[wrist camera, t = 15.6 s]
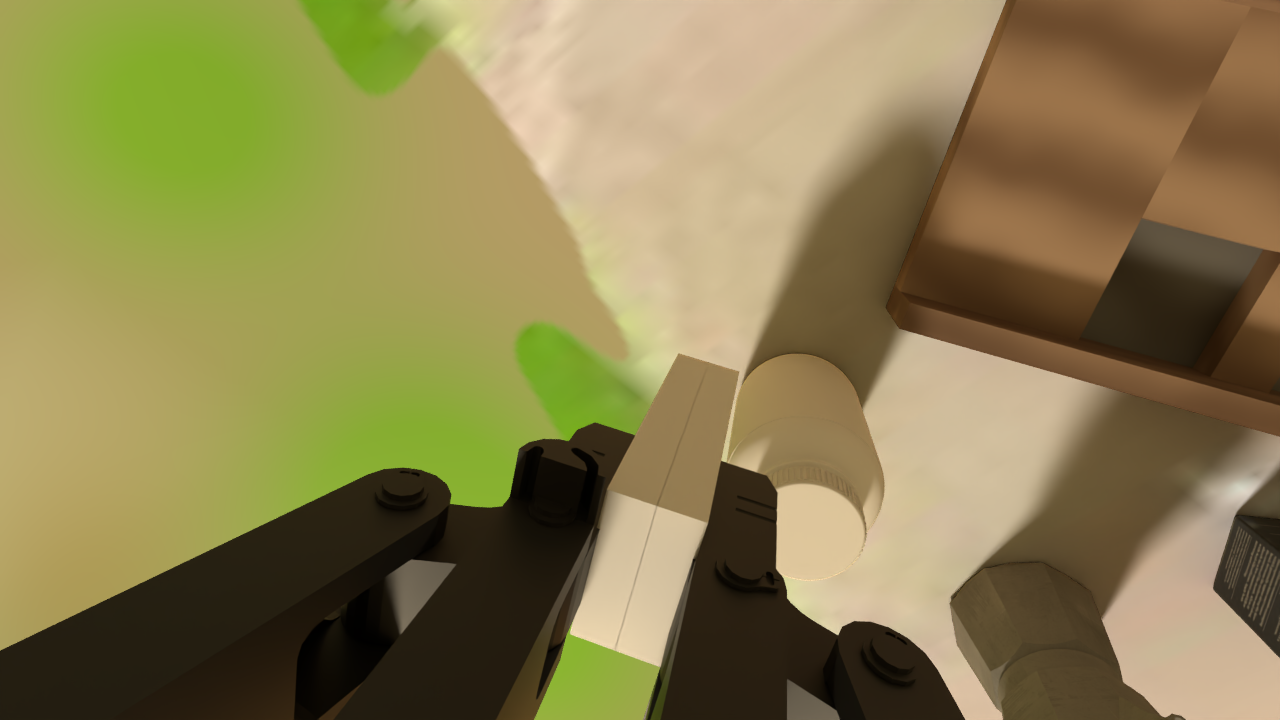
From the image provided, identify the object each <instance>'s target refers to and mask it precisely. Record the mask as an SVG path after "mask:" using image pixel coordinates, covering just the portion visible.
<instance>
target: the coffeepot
mask: <svg viewBox="0 0 1280 720" xmlns="http://www.w3.org/2000/svg"><path fill="white" fill-rule="evenodd" d="M950 608H951V613H952V621H953V625H954V630H955V636H956V642H957V646H958V647H959V649H960V650H961V652H962V654H963V655H964V657H965V659H966V660H967V662H968V663H969V665H970V667H971V668H972V670H973V671H974V673H975V675H976V676H977V678H978V679H979V681H980V683H981V684H982V686H983V688H984V689H985V691H986V692H987V694H988V696H989V697H990V699H991V700H992V702H993V704H994V705H995V707H996V708H997V709H998V710H999V711H1000V712H1002V716H1003V720H1186V719H1184V718H1183V717H1182V716H1179V715H1175V714H1171V715H1170V716H1168V717H1166V718H1165V717H1162V716H1161V715H1160V714H1159V713H1158V712H1157V711H1156V710H1155V709H1154V708H1153V707H1152V705H1151V704H1150V703H1149V702H1148V701H1147V700H1146V699H1145V698H1144V697H1143V696H1142V695H1141V694H1139V693H1138V692H1136V691H1135V690H1134V689H1132V688H1131V687H1129V686H1128V685H1126V684H1124V683H1123V680H1122V675H1121V670H1120V666H1119V663H1118V660H1117V658H1116V655H1115V653H1114V650H1113V648H1112V645H1111V643H1110V640H1109V637H1108V635H1107V632H1106V630H1105V627H1104V625H1103V622H1102V620H1101V617H1100V615H1099V612H1098V610H1097V607H1096V604H1095V602H1094V599H1093V597H1092V594H1091V592H1090V591H1089V590H1087V589H1086V588H1084V587H1083V586H1081V585H1079V584H1078V583H1076V582H1075V581H1074V580H1072V579H1071V578H1069V577H1068V576H1067V575H1065V574H1063V573H1061V572H1059V571H1057V570H1055V569H1053V568H1051V567H1049V566H1048V565H1046V564H1045V563H1008V564H1002V565H997V566H994V567H991V568H984V569H983V570H981V571H980V572H979V573H977V574H976V575H975V576H974V577H972V578H971V579H970V580H969V581H967V582H966V583H965V584H964V586H963V587H962V588H961V589H960V591H959V592H958V594H957V596H956V597H955V598H954V599H953V600H952V601H951V602H950Z"/></svg>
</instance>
